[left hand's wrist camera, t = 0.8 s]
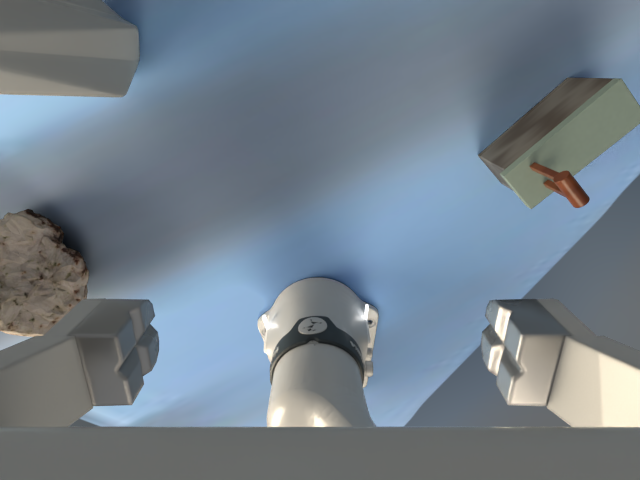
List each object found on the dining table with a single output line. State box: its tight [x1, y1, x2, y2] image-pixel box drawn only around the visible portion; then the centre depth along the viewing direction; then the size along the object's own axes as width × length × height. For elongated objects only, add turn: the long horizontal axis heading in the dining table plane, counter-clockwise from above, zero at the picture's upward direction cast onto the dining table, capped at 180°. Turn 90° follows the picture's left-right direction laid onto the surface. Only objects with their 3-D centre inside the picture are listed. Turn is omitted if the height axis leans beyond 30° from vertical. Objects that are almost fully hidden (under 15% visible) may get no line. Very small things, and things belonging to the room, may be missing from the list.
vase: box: [0, 0, 140, 97], centre depth 35 cm, size 12×12×33 cm
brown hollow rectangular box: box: [478, 78, 612, 190], centre depth 50 cm, size 14×5×9 cm, turn 135°
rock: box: [0, 209, 89, 337], centre depth 56 cm, size 15×17×15 cm
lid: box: [500, 78, 640, 209], centre depth 42 cm, size 14×5×8 cm, turn 134°
